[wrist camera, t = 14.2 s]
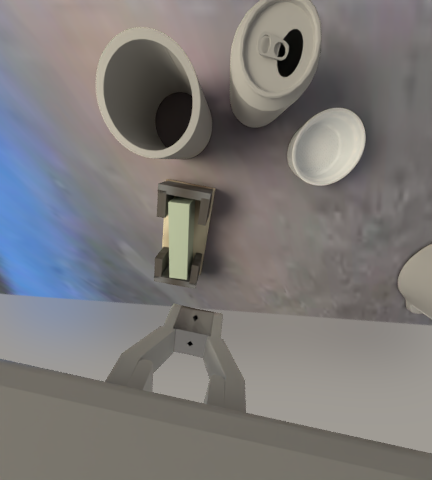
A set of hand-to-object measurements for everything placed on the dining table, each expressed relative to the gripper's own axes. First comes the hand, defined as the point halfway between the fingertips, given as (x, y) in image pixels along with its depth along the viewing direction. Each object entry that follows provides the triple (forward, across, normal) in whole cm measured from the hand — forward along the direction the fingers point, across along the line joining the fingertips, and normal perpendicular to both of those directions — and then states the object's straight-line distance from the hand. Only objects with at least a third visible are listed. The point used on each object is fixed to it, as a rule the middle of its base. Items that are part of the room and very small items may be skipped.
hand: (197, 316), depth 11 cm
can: (+23, -2, -17) cm, 29 cm away
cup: (+23, +8, -12) cm, 27 cm away
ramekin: (+24, -12, -12) cm, 29 cm away
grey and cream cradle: (+22, +6, +5) cm, 24 cm away
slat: (+22, +6, +5) cm, 23 cm away
